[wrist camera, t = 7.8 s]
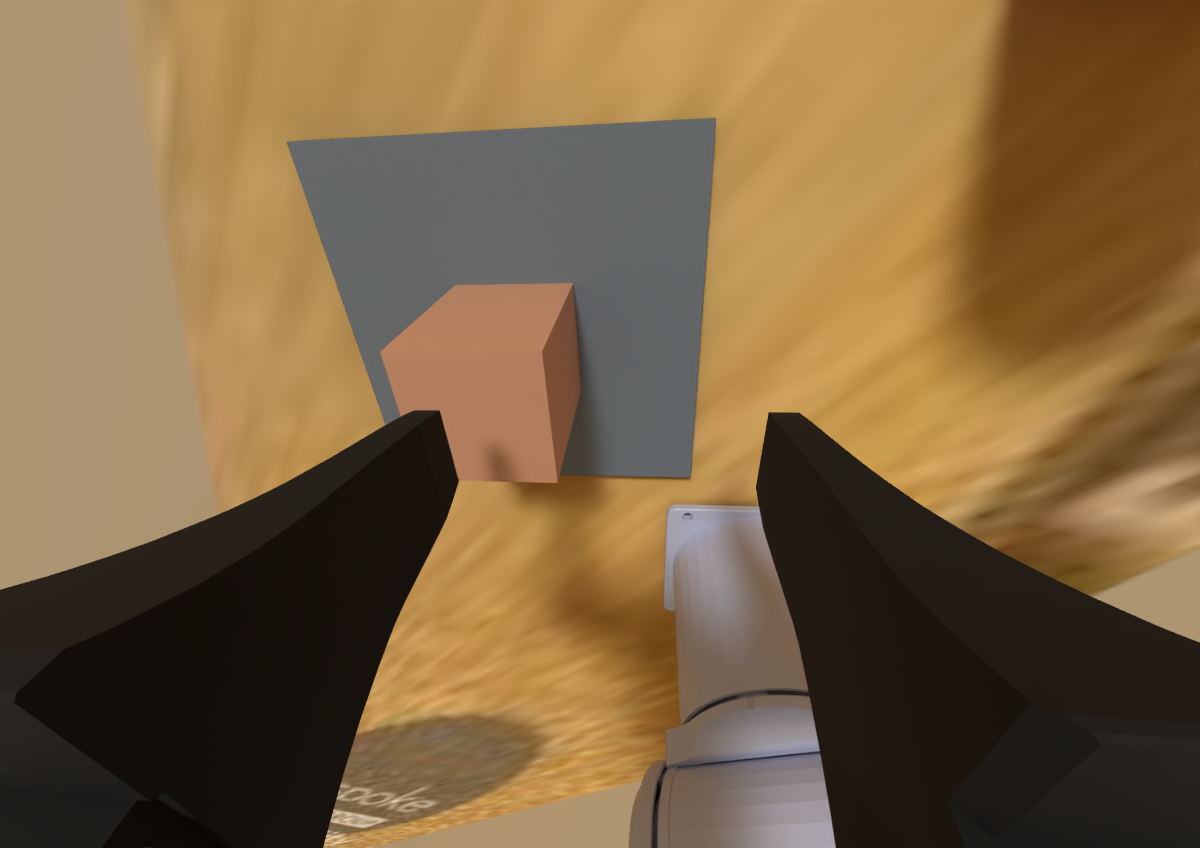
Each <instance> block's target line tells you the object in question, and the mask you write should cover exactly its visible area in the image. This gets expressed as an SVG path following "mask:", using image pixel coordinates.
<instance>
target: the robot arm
mask: <svg viewBox="0 0 1200 848" xmlns="http://www.w3.org/2000/svg"><path fill="white" fill-rule="evenodd" d="M458 482H459V479H458V476H457V472H456V468H455V465H454V461H453V457H452V453H451V450H450V446H449V442H448V439H447V435H446V431H445V428H444V424H443V420H442V416H441V413H440V410H413V411H411V412H409V413H407V414H405V415H403V416H401V417H399V418H397V419H395V420H394V421H392V422H390V423H388V424H387V425H385V426H383V427H382V428H380V429H378V430H376V431H375V432H373V433H371V434H370V435H368V436H366V437H365V438H363V439H361V440H360V441H358V442H356V443H355V444H353V445H351V446H350V447H348V448H346V449H345V450H343V451H341V452H340V453H338V454H336V455H334V456H333V457H331V458H329V459H327V460H326V461H324V462H322V463H320V464H318V465H317V466H315V467H313V468H311V469H309V470H308V471H306V472H304V473H302V474H300V475H299V476H297V477H295V478H293V479H291V480H289V481H288V482H286V483H284V484H282V485H280V486H278V487H276V488H274V489H272V490H270V491H268V492H266V493H264V494H262V495H260V496H258V497H256V498H254V499H252V500H249V501H247V502H245V503H243V504H241V505H239V506H236V507H234V508H232V509H230V510H228V511H226V512H223V513H221V514H219V515H216V516H214V517H211V518H209V519H206V520H204V521H202V522H199V523H197V524H194V525H192V526H189V527H187V528H184V529H182V530H179V531H177V532H174V533H172V534H169V535H167V536H164V537H162V538H159V539H157V540H154V541H151V542H149V543H146V544H143V545H140V546H138V547H135V548H132V549H129V550H126V551H123V552H121V553H118V554H115V555H112V556H109V557H106V558H103V559H100V560H97V561H94V562H91V563H88V564H85V565H82V566H79V567H76V568H73V569H70V570H67V571H63V572H60V573H57V574H54V575H50V576H47V577H44V578H40V579H37V580H33V581H30V582H26V583H22V584H19V585H15V586H12V587H8V588H5V589H1V590H0V848H323V846H324V842H325V838H326V835H327V831H328V827H329V824H330V820H331V817H332V813H333V809H334V806H335V802H336V799H337V795H338V791H339V788H340V784H341V781H342V777H343V774H344V770H345V767H346V764H347V761H348V758H349V754H350V751H351V748H352V745H353V742H354V738H355V735H356V732H357V729H358V726H359V722H360V719H361V716H362V713H363V710H364V707H365V704H366V702H367V699H368V696H369V693H370V690H371V687H372V684H373V681H374V679H375V676H376V673H377V670H378V667H379V664H380V662H381V659H382V657H383V654H384V651H385V649H386V646H387V643H388V641H389V638H390V635H391V633H392V630H393V628H394V625H395V622H396V620H397V618H398V616H399V614H400V611H401V609H402V607H403V605H404V603H405V601H406V599H407V597H408V595H409V593H410V591H411V589H412V587H413V585H414V583H415V581H416V579H417V577H418V575H419V573H420V571H421V569H422V567H423V565H424V563H425V561H426V559H427V557H428V555H429V553H430V551H431V549H432V547H433V545H434V543H435V541H436V539H437V537H438V535H439V533H440V531H441V529H442V527H443V525H444V523H445V521H446V519H447V516H448V513H449V510H450V507H451V504H452V501H453V498H454V495H455V492H456V488H457V485H458ZM756 491H757V497H758V503H759V506H724V505H685V504H676V505H672V506H670V507H669V508H668V509H667V521H666V547H665V573H664V598H663V604H664V608H665V609H667V610H669V611H675V624H676V646H677V667H678V689H679V711H680V726H679V727H675V728H670V729H667V730H666V731H665V738H666V760H658V761H656V762H654V763H653V764H652V765H650V767H649V768H648V770H647V772H646V773H645V776H644V778H643V781H642V784H641V786H640V788H639V790H638V792H637V795H636V798H635V801H634V805H633V810H632V815H631V822H630V833H629V848H1200V643H1199V642H1197V641H1194V640H1191V639H1189V638H1186V637H1184V636H1181V635H1179V634H1176V633H1174V632H1171V631H1169V630H1166V629H1164V628H1161V627H1159V626H1157V625H1154V624H1152V623H1150V622H1147V621H1145V620H1142V619H1140V618H1138V617H1136V616H1134V615H1131V614H1129V613H1127V612H1125V611H1122V610H1120V609H1118V608H1116V607H1113V606H1111V605H1109V604H1106V603H1104V602H1102V601H1100V600H1097V599H1095V598H1093V597H1091V596H1089V595H1086V594H1084V593H1082V592H1080V591H1078V590H1076V589H1074V588H1072V587H1070V586H1067V585H1065V584H1063V583H1061V582H1059V581H1057V580H1055V579H1053V578H1051V577H1049V576H1047V575H1045V574H1043V573H1041V572H1039V571H1037V570H1035V569H1033V568H1031V567H1029V566H1027V565H1025V564H1023V563H1021V562H1019V561H1017V560H1015V559H1013V558H1011V557H1010V556H1008V555H1006V554H1004V553H1002V552H1000V551H998V550H996V549H994V548H993V547H991V546H989V545H987V544H985V543H983V542H982V541H980V540H978V539H976V538H974V537H973V536H971V535H969V534H968V533H966V532H964V531H963V530H961V529H959V528H958V527H956V526H954V525H953V524H951V523H949V522H948V521H946V520H944V519H943V518H941V517H939V516H938V515H936V514H934V513H933V512H931V511H930V510H928V509H927V508H925V507H923V506H922V505H920V504H919V503H917V502H916V501H914V500H913V499H911V498H910V497H909V496H907V495H906V494H904V493H903V492H901V491H900V490H899V489H897V488H896V487H894V486H893V485H891V484H890V483H888V482H887V481H886V480H884V479H883V478H882V477H880V476H879V475H878V474H876V473H875V472H873V471H872V470H871V469H870V468H868V467H867V466H866V465H864V464H863V463H862V462H860V461H859V460H858V459H857V458H855V457H854V456H853V455H851V454H850V453H849V452H848V451H846V450H845V449H844V448H843V447H841V446H840V445H839V444H838V443H837V442H835V441H834V440H833V439H832V438H830V437H829V436H828V435H827V434H826V433H824V432H823V431H822V430H821V429H819V428H818V427H817V426H816V425H814V424H813V423H812V422H811V421H809V420H808V419H807V418H806V417H804V416H803V415H801V414H800V413H775V412H769V414H768V420H767V426H766V431H765V437H764V443H763V449H762V455H761V461H760V467H759V472H758V478H757V484H756ZM685 513H690V515H684V514H685Z"/></svg>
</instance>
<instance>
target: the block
mask: <svg viewBox="0 0 1200 848" xmlns="http://www.w3.org/2000/svg"><path fill="white" fill-rule="evenodd" d="M380 353H381V356H382V360H383V363H384V366H385V369H386V372H387V375H388V378H389V381H390V385H391V388H392V391H393V394H394V397H395V400H396V403H397V406H398V410H399V413H400V416H403V415H405V414H407V413H409V412H411V411H413V410H440V413H441V416H442V420H443V424H444V428H445V431H446V435H447V439H448V442H449V446H450V450H451V453H452V457H453V461H454V465H455V468H456V472H457V476H458V479H459V480H466V481H504V482H542V483H558V479H559V475H560V471H561V467H562V463H563V459H564V455H565V451H566V447H567V443H568V440H569V436H570V432H571V428H572V424H573V420H574V416H575V412H576V408H577V404H578V400H579V396H580V392H581V384H580V370H579V356H578V343H577V329H576V315H575V302H574V288H573V283H556V284H492V285H455V286H454V287H453V288H451V289H450V290H449V291H448V292H447V293H446V294H445V295H444V296H442V297H441V298H440V299H439V300H438V301H437V302H436V303H435V304H433V305H432V306H431V307H430V308H429V309H428V310H427V311H425V312H424V313H423V314H422V315H421V316H420V317H419V318H418V319H416V320H415V321H414V322H413V323H412V324H411V325H410V326H409V327H407V328H406V329H405V330H404V331H403V332H402V333H401V334H400V335H398V336H397V337H396V338H395V339H394V340H393V341H392V342H390V343H389V344H388V345H387V346H386V347H385V348H384V349H383V350H381V351H380Z"/></svg>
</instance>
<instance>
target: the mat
mask: <svg viewBox="0 0 1200 848" xmlns="http://www.w3.org/2000/svg"><path fill="white" fill-rule="evenodd" d="M715 127H716V118H705V119H687V120H669V121H651V122H633V123H614V124H596V125H578V126H560V127H542V128H524V129H505V130H487V131H469V132H451V133H433V134H415V135H396V136H378V137H360V138H342V139H324V140H305V141H291V142H287V144H288V147H289V150H290V153H291V156H292V159H293V161H294V164H295V167H296V170H297V173H298V176H299V179H300V181H301V184H302V187H303V190H304V193H305V196H306V199H307V201H308V204H309V207H310V210H311V213H312V216H313V219H314V221H315V224H316V227H317V230H318V233H319V236H320V239H321V241H322V244H323V247H324V250H325V253H326V256H327V259H328V261H329V264H330V267H331V270H332V273H333V276H334V279H335V281H336V284H337V287H338V290H339V293H340V296H341V299H342V301H343V304H344V307H345V310H346V313H347V316H348V319H349V321H350V324H351V327H352V330H353V333H354V336H355V339H356V341H357V344H358V347H359V350H360V353H361V356H362V359H363V361H364V364H365V367H366V370H367V373H368V376H369V379H370V381H371V384H372V387H373V390H374V393H375V396H376V399H377V401H378V404H379V407H380V410H381V413H382V416H383V419H384V421H385V424H386V425H387V424H388V423H390V422H392V421H394V420H395V419H397V418H399V417H401V416H400V413H399V410H398V406H397V403H396V400H395V397H394V394H393V391H392V388H391V385H390V381H389V378H388V375H387V372H386V369H385V366H384V363H383V360H382V356H381V353H380V351H381V350H383V349H384V348H385V347H386V346H387V345H388V344H389V343H390V342H392V341H393V340H394V339H395V338H396V337H397V336H398V335H400V334H401V333H402V332H403V331H404V330H405V329H406V328H407V327H409V326H410V325H411V324H412V323H413V322H414V321H415V320H416V319H418V318H419V317H420V316H421V315H422V314H423V313H424V312H425V311H427V310H428V309H429V308H430V307H431V306H432V305H433V304H435V303H436V302H437V301H438V300H439V299H440V298H441V297H442V296H444V295H445V294H446V293H447V292H448V291H449V290H450V289H451V288H453V287H454V286H455V285H492V284H556V283H573V288H574V302H575V315H576V329H577V343H578V356H579V370H580V384H581V392H580V396H579V400H578V404H577V408H576V412H575V416H574V420H573V424H572V428H571V432H570V436H569V440H568V443H567V447H566V451H565V455H564V459H563V463H562V467H561V471H560V475H590V476H640V477H689V478H690V477H691V463H692V449H693V435H694V421H695V407H696V393H697V379H698V365H699V351H700V337H701V323H702V309H703V295H704V281H705V267H706V253H707V239H708V225H709V211H710V197H711V183H712V169H713V155H714V141H715Z"/></svg>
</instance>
